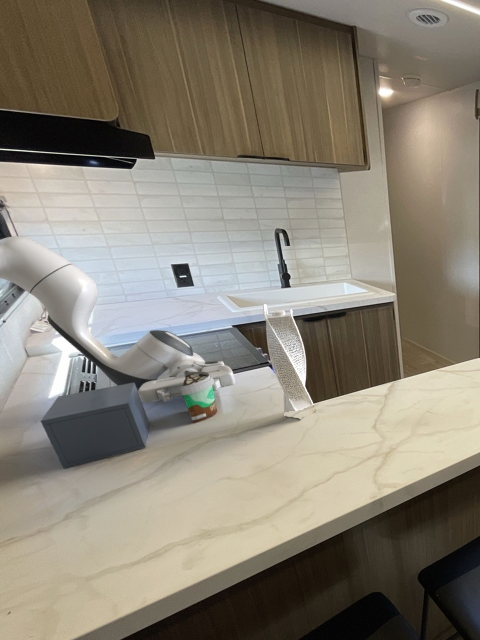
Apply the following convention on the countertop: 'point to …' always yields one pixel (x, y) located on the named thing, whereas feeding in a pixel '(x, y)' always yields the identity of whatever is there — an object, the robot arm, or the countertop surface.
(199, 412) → the food container
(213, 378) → the robot arm
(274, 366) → the skyscraper
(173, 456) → the countertop surface
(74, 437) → the cabinet
